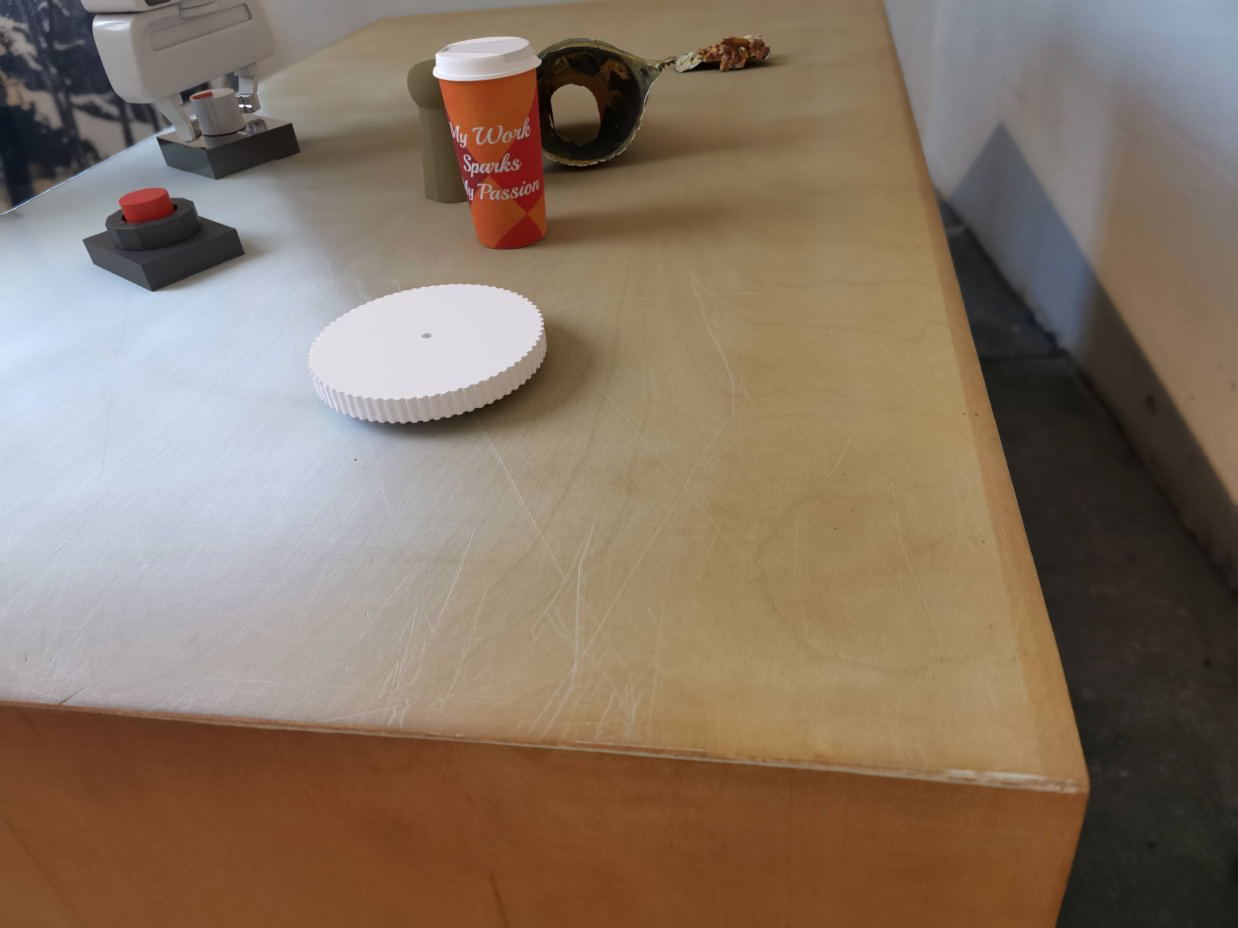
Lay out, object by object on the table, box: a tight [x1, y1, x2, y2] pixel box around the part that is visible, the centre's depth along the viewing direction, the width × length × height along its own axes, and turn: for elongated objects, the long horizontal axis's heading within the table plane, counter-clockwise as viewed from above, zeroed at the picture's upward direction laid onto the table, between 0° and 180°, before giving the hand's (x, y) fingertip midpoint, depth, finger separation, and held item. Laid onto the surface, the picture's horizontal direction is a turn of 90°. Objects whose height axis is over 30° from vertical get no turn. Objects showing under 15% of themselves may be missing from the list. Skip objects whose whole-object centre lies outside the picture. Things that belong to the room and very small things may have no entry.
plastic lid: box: [306, 283, 548, 424], centre depth 52 cm, size 14×14×2 cm
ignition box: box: [81, 197, 246, 293], centre depth 69 cm, size 10×8×4 cm
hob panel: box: [155, 113, 301, 181], centre depth 91 cm, size 10×10×3 cm
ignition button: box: [118, 187, 175, 223], centre depth 68 cm, size 4×4×2 cm
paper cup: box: [433, 36, 547, 250], centre depth 65 cm, size 8×8×14 cm
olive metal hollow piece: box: [536, 37, 679, 167], centre depth 84 cm, size 17×11×18 cm
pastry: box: [674, 34, 772, 73], centre depth 108 cm, size 7×12×4 cm, turn 98°
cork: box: [406, 58, 468, 204], centre depth 76 cm, size 6×6×11 cm
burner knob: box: [189, 87, 245, 135], centre depth 89 cm, size 4×4×4 cm
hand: (222, 125), depth 90 cm, fingers open, 8 cm apart
